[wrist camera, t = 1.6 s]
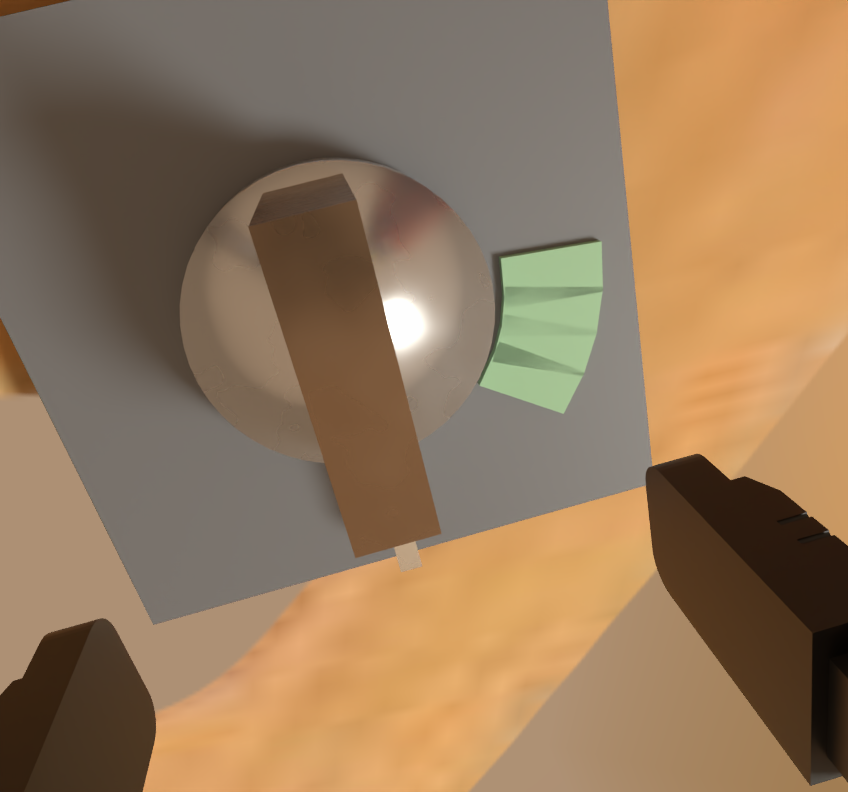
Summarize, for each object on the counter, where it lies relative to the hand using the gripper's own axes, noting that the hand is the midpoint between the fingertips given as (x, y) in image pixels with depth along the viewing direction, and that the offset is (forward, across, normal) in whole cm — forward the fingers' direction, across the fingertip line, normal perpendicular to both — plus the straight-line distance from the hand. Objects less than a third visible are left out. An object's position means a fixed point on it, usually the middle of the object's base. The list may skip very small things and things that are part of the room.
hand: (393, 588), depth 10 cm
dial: (+15, 0, +2) cm, 15 cm away
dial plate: (+17, 0, 0) cm, 17 cm away
